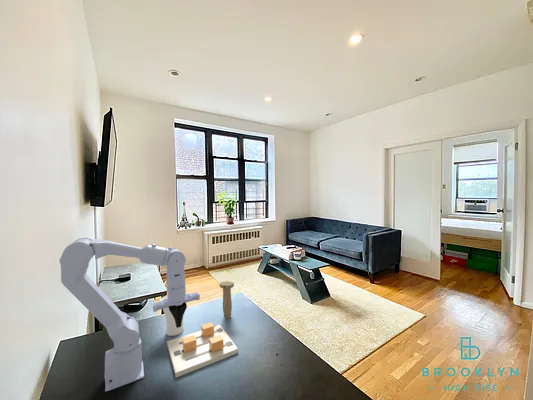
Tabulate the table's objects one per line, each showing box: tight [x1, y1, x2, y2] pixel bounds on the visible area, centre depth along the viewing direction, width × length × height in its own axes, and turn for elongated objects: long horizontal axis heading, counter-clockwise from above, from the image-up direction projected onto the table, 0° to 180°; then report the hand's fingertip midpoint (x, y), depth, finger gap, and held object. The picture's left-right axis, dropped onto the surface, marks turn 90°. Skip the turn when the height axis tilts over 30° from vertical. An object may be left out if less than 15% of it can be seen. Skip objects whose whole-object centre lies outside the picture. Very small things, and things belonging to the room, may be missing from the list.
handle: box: [219, 280, 235, 319], centre depth 102 cm, size 5×6×15 cm
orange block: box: [209, 335, 224, 352], centre depth 78 cm, size 4×3×3 cm
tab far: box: [200, 321, 215, 337], centre depth 87 cm, size 4×3×3 cm
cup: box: [159, 295, 185, 337], centre depth 92 cm, size 10×10×14 cm
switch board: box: [166, 324, 239, 379], centre depth 80 cm, size 20×18×2 cm
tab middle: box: [182, 335, 197, 353], centre depth 78 cm, size 4×3×3 cm
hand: (178, 326), depth 76 cm, fingers closed
